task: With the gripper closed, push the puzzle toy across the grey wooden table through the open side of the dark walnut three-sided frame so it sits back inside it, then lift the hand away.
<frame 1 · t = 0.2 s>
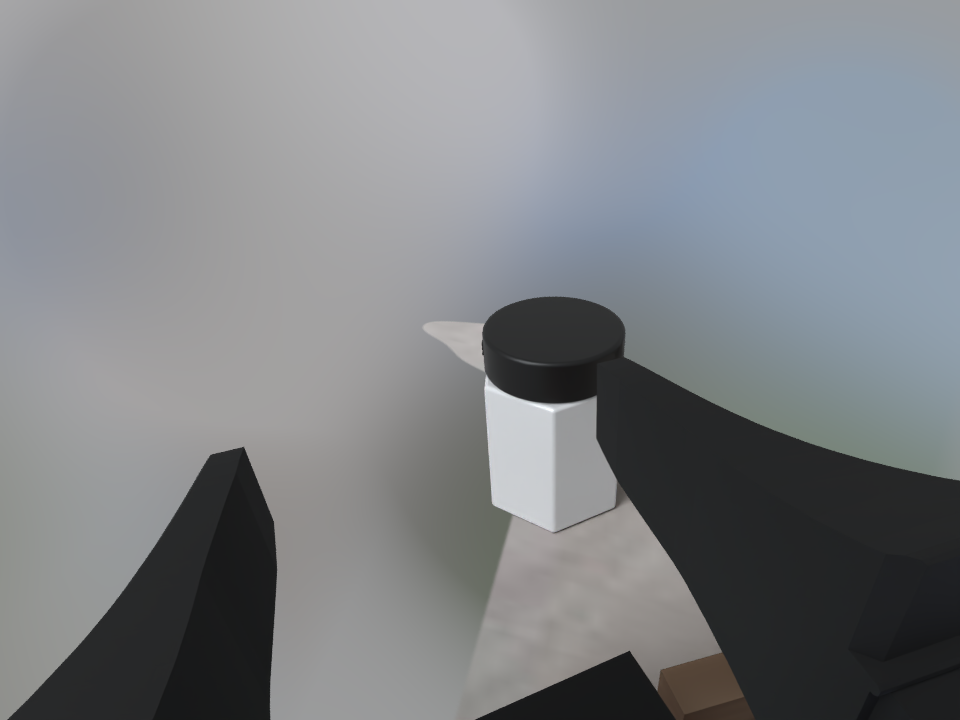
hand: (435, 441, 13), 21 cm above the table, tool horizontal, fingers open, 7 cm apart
jar: (552, 485, 42), on the table
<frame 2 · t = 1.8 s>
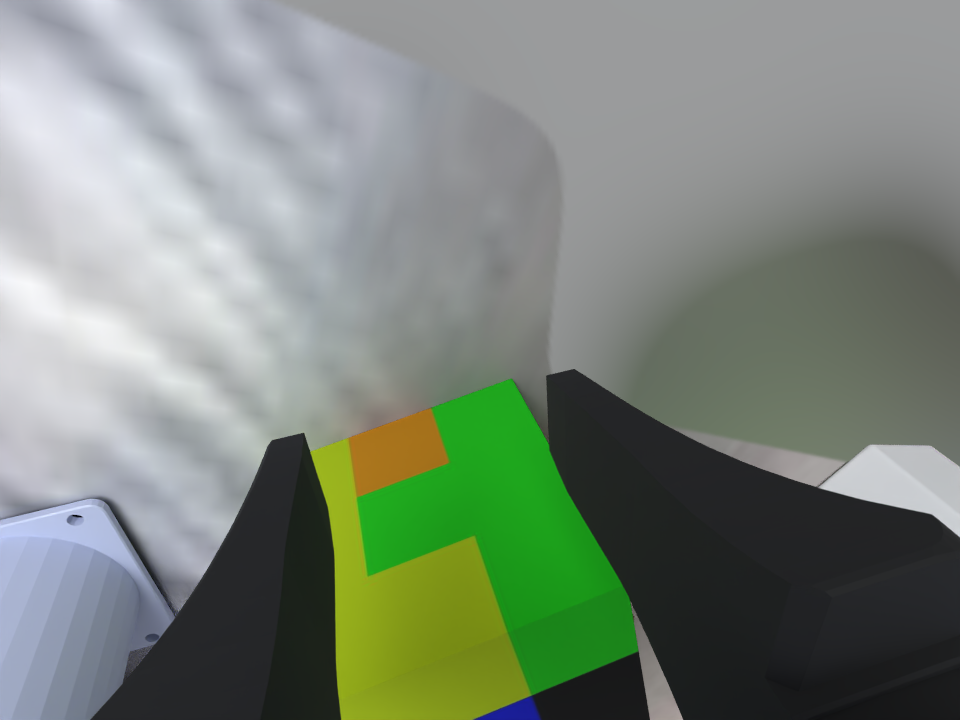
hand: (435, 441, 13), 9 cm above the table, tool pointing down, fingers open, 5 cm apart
puzzle toy: (425, 503, 27), on the table
jar: (859, 495, 35), on the table
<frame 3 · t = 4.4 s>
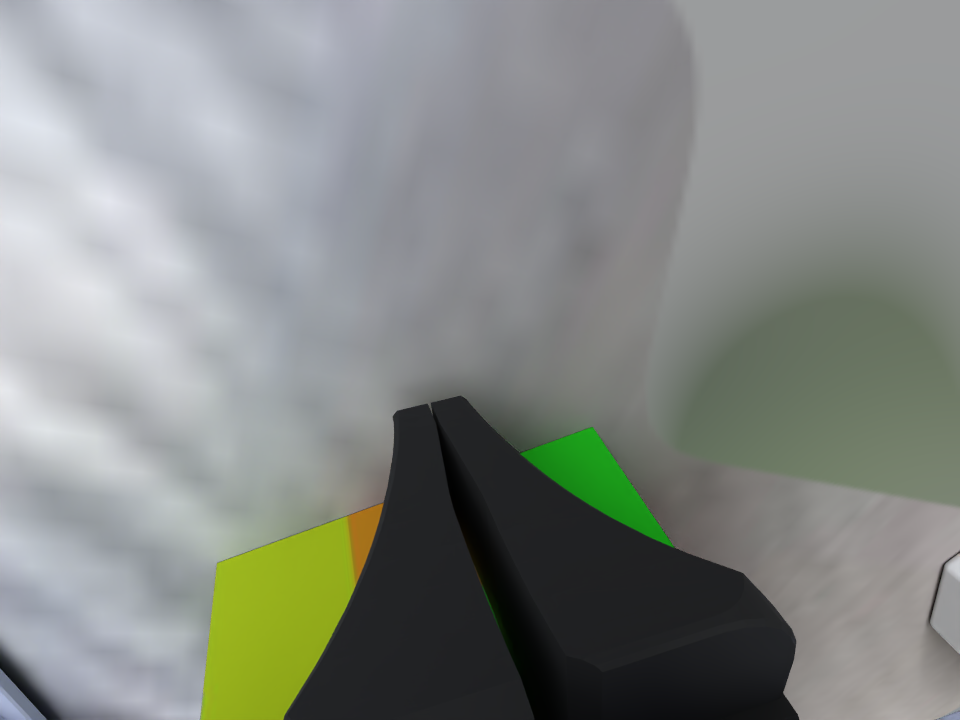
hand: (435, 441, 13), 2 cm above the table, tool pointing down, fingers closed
puzzle toy: (455, 599, 19), on the table, touching gripper
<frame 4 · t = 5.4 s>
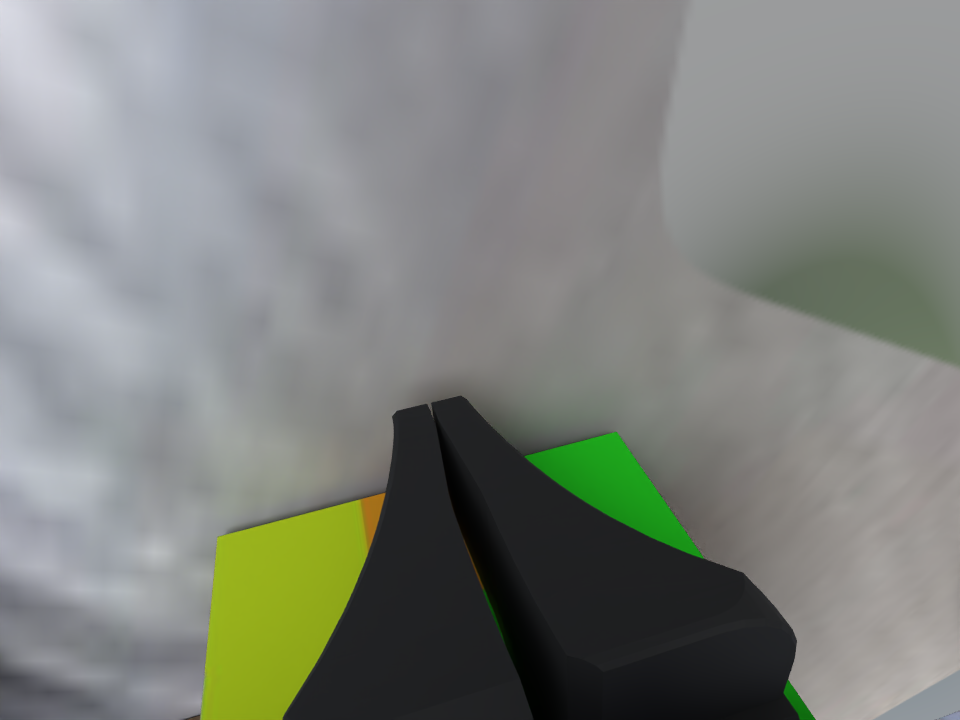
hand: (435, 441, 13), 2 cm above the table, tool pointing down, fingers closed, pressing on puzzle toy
puzzle toy: (450, 595, 18), on the table, touching gripper
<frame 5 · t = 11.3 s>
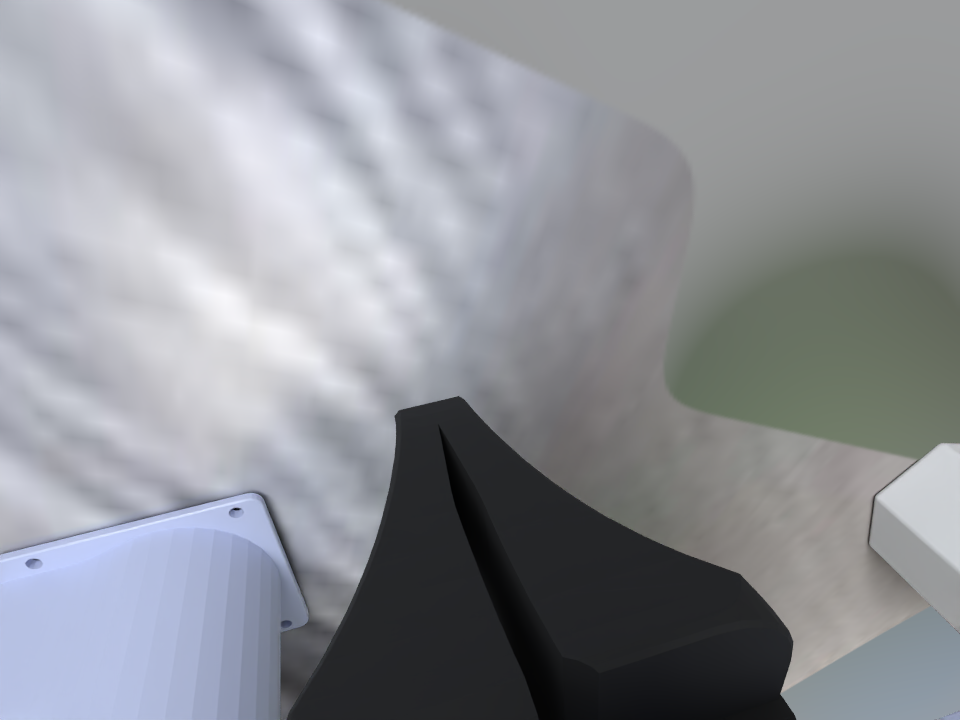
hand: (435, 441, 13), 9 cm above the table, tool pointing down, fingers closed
jar: (925, 491, 37), on the table
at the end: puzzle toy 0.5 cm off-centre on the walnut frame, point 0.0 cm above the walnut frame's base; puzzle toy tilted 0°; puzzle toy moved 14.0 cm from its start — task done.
